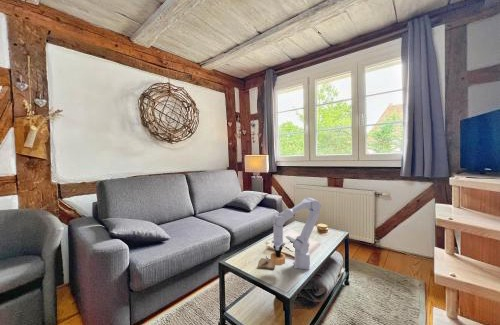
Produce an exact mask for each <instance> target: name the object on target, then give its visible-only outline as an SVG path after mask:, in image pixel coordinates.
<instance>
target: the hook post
mask: <svg viewBox="0 0 500 325" xmlns="http://www.w3.org/2000/svg"><path fill="white" fill-rule="evenodd" d="M265 259H266V263H267V264H268V263H269V259H270V257H269V256H268V255H265Z"/></svg>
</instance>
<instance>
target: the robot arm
mask: <svg viewBox="0 0 500 325" xmlns="http://www.w3.org/2000/svg"><path fill="white" fill-rule="evenodd" d="M321 208H322V204H321V202H320V201H319V200H317V199H314V198H312V197H309V196H307V197H305V198H303V199H302V201H301V202H299V203H298V204H296V205H294V206H293V207H292V208H285V209H284V210H283V211H281V212H279V213H278V214H274V215H273V216H272V218H271V222H272V224H273V225H272V226H273V232H272V233H273V240H271V243H272V244H273V246H272V247H273V250H274V252H275V253H276V257H280V254H281V253H282V250H283V248H284V246H283V244H284V225H285V223H286V222H287V221H288V220H290V219H292V218H294V215H295V214H296V213H298V212H300V211H302V210H304V209H307V210H308V212H309V215H308V217H307V219H306V221H305V224H304V226H303V229H302V231H301V233H300V235H298V236H296V238H294V239H295V240H294V242H293V247H294V248H295V252H294V261H293V267H294V269H300V270H311V269H310V268H311V266H310V265H311V259H310V254H311V253H310V252H309V247H310V241H309V239H310V237H311V235H312V233H313V230H314V228H315V226H316V223H317V221H318V219H319V217H320V209H321Z"/></svg>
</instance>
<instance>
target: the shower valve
mask: <svg viewBox="0 0 500 325" xmlns="http://www.w3.org/2000/svg"><path fill="white" fill-rule="evenodd" d="M285 238H286V239H287V240H288V241H289V243H290V242H291V243H293V242H294V240H295V239H296V238H294V237H291V236H289V235H287V236H285Z"/></svg>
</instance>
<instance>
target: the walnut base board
mask: <svg viewBox="0 0 500 325" xmlns="http://www.w3.org/2000/svg"><path fill="white" fill-rule="evenodd" d="M257 266H258V267H257V268H258V269H263V270H275V267H276V265H274V264H272V263H271V258H269V263H268V264H267V263H266V257H265V258H263V257H260V260H259V264H258V265H257Z"/></svg>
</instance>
